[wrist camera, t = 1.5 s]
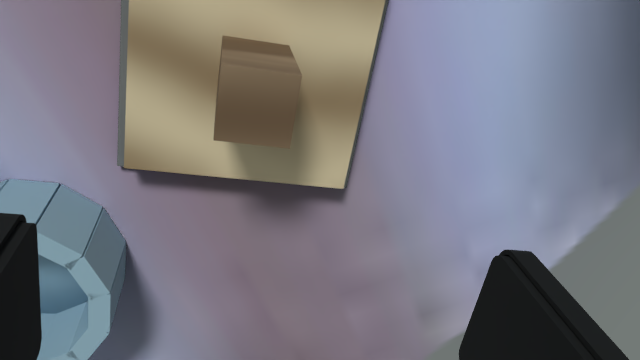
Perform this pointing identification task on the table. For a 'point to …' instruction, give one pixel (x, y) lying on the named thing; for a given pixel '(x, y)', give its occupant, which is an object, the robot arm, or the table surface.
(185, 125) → the lid
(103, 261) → the bowl
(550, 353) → the robot arm
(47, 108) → the table surface
